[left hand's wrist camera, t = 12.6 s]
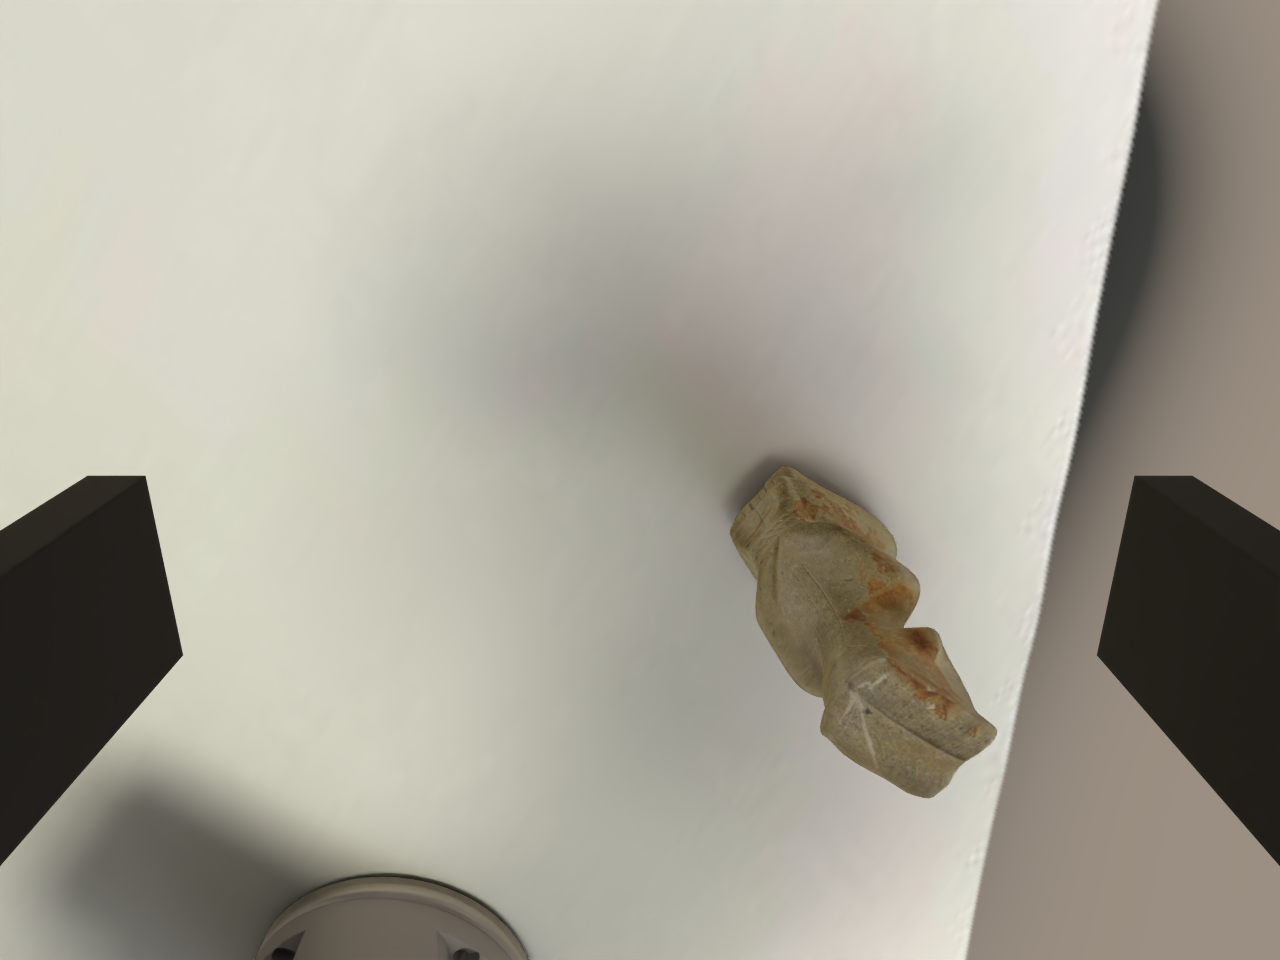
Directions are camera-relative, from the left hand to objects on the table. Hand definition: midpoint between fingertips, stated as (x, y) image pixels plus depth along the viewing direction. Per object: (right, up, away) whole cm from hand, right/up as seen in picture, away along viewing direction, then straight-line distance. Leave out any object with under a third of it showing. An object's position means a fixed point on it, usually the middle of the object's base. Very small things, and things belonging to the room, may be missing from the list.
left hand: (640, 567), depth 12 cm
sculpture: (+7, -1, +29) cm, 30 cm away
